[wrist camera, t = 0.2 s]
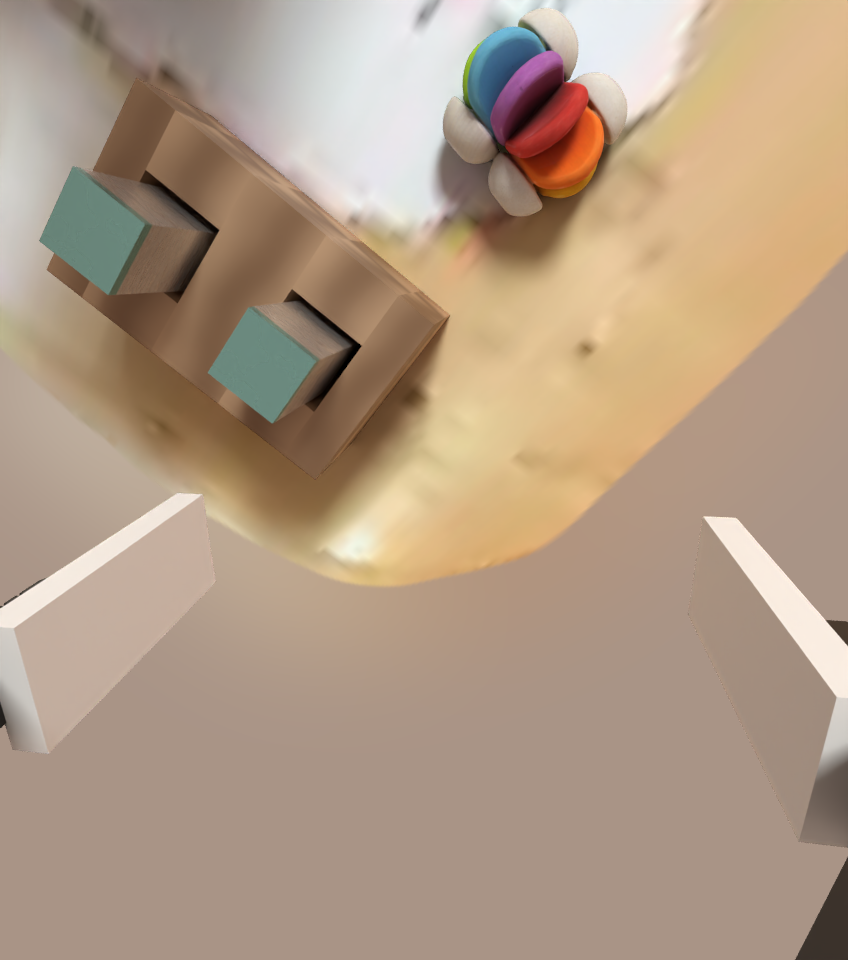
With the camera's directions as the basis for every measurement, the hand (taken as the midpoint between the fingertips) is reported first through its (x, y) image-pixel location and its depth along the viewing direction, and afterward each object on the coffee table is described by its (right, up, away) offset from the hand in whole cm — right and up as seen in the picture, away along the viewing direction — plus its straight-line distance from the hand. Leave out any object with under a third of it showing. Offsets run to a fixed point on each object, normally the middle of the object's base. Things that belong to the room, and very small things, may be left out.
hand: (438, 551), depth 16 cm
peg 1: (-15, +16, +20) cm, 30 cm away
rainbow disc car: (+6, +23, +21) cm, 32 cm away
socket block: (-10, +15, +26) cm, 32 cm away
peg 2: (-7, +10, +21) cm, 24 cm away
